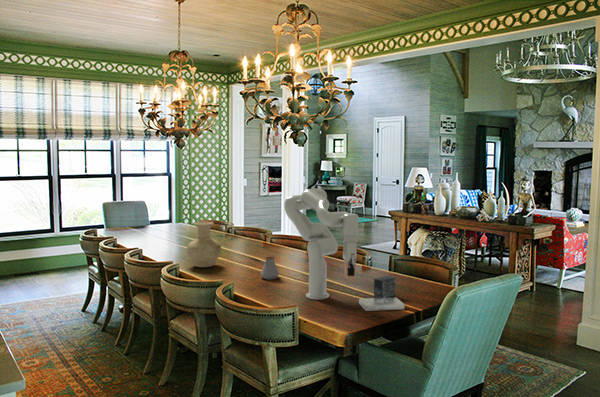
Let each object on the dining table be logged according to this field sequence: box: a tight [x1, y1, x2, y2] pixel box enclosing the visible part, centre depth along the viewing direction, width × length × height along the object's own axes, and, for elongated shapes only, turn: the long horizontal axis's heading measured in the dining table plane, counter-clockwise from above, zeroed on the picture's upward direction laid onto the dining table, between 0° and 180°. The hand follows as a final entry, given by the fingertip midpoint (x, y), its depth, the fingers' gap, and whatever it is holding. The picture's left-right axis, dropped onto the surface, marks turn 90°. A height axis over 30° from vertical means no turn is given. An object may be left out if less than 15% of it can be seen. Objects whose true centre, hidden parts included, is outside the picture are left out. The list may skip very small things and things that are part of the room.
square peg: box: [343, 260, 356, 280], centre depth 245 cm, size 4×4×9 cm
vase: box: [186, 221, 222, 268], centre depth 332 cm, size 22×22×30 cm
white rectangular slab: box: [358, 296, 405, 312], centre depth 249 cm, size 12×20×2 cm, turn 99°
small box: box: [373, 275, 396, 298], centre depth 266 cm, size 11×6×10 cm, turn 129°
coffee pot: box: [248, 256, 280, 281], centre depth 300 cm, size 21×12×15 cm, turn 131°
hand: (349, 274), depth 245 cm, fingers closed on square peg, 4 cm apart
